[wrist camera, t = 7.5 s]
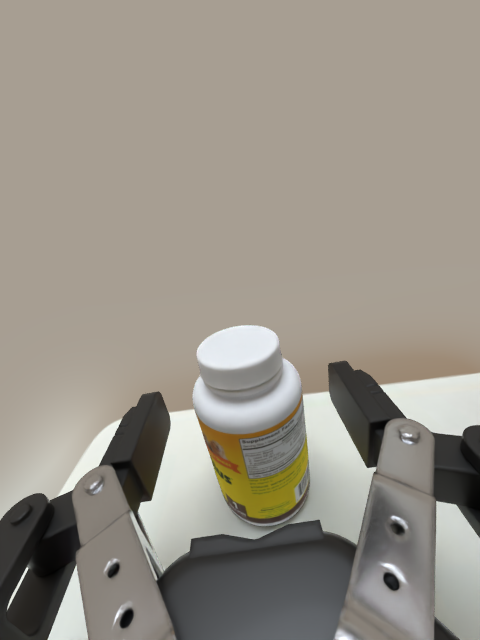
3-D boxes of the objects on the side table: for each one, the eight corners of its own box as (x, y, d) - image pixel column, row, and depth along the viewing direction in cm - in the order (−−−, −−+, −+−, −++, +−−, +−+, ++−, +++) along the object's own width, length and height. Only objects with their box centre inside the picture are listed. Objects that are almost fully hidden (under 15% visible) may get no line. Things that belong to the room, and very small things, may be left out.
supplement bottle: (217, 457, 18) (178, 332, 14) (289, 434, 19) (273, 309, 15) (231, 549, 13) (177, 397, 9) (328, 512, 14) (320, 356, 10)
